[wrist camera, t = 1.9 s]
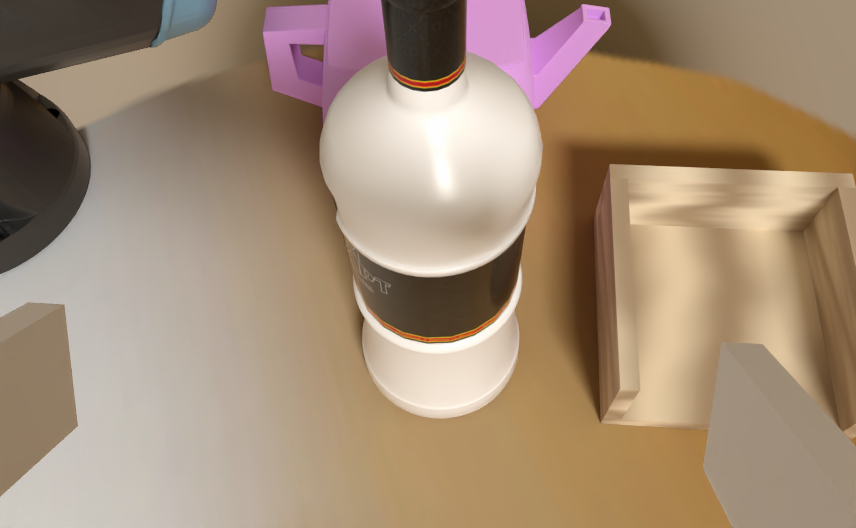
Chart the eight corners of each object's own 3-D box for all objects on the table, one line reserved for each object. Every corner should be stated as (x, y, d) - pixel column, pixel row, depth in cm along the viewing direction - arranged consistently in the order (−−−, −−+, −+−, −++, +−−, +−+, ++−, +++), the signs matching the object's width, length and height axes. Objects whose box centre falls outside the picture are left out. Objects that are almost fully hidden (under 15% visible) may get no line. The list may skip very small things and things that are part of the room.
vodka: (499, 440, 43) (564, 73, 17) (346, 402, 45) (184, 9, 18) (530, 299, 47) (620, -171, 21) (389, 268, 49) (308, -207, 22)
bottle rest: (600, 423, 43) (620, 388, 38) (593, 217, 50) (609, 163, 45) (851, 439, 42) (907, 405, 37) (810, 227, 49) (852, 173, 44)
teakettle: (267, 123, 55) (221, -12, 44) (428, 0, 61) (422, -147, 50) (435, 262, 49) (429, 144, 38) (597, 111, 55) (632, -29, 44)
